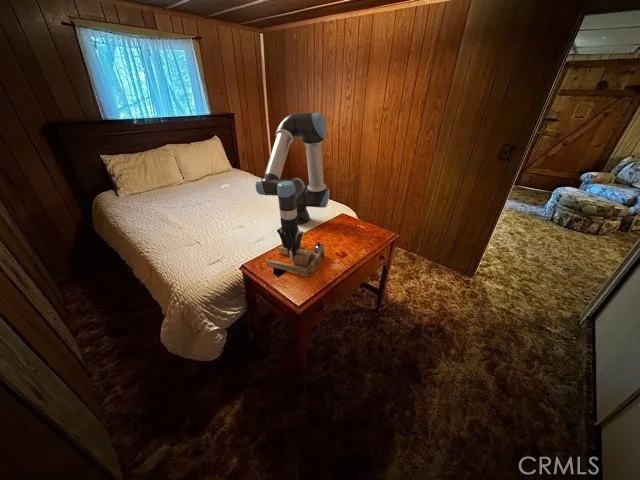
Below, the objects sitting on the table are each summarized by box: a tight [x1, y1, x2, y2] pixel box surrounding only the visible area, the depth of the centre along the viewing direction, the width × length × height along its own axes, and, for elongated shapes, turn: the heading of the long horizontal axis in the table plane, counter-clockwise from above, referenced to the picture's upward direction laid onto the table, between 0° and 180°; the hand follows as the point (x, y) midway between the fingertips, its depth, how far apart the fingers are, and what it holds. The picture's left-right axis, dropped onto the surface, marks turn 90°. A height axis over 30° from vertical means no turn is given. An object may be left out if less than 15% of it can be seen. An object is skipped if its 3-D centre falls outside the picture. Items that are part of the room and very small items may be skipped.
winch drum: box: [313, 241, 325, 259], centre depth 128 cm, size 5×5×8 cm
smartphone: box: [272, 268, 288, 278], centre depth 123 cm, size 7×1×15 cm
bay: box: [265, 246, 323, 278], centre depth 124 cm, size 14×24×5 cm, turn 69°
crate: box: [293, 248, 314, 268], centre depth 122 cm, size 7×7×7 cm
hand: (292, 260), depth 125 cm, fingers closed
